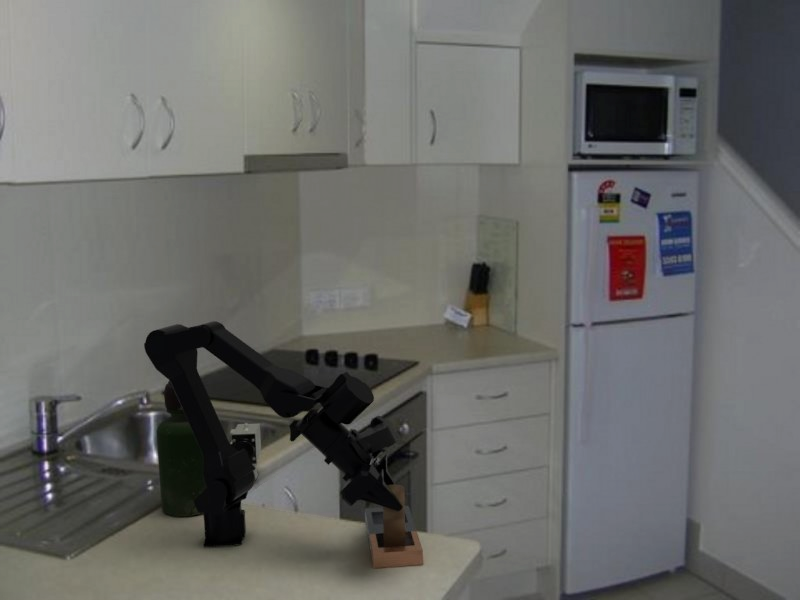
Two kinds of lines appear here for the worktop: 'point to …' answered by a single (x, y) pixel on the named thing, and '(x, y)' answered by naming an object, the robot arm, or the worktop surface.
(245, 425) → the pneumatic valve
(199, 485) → the spray bottle
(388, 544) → the walnut peg
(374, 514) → the grey copper flat frame
